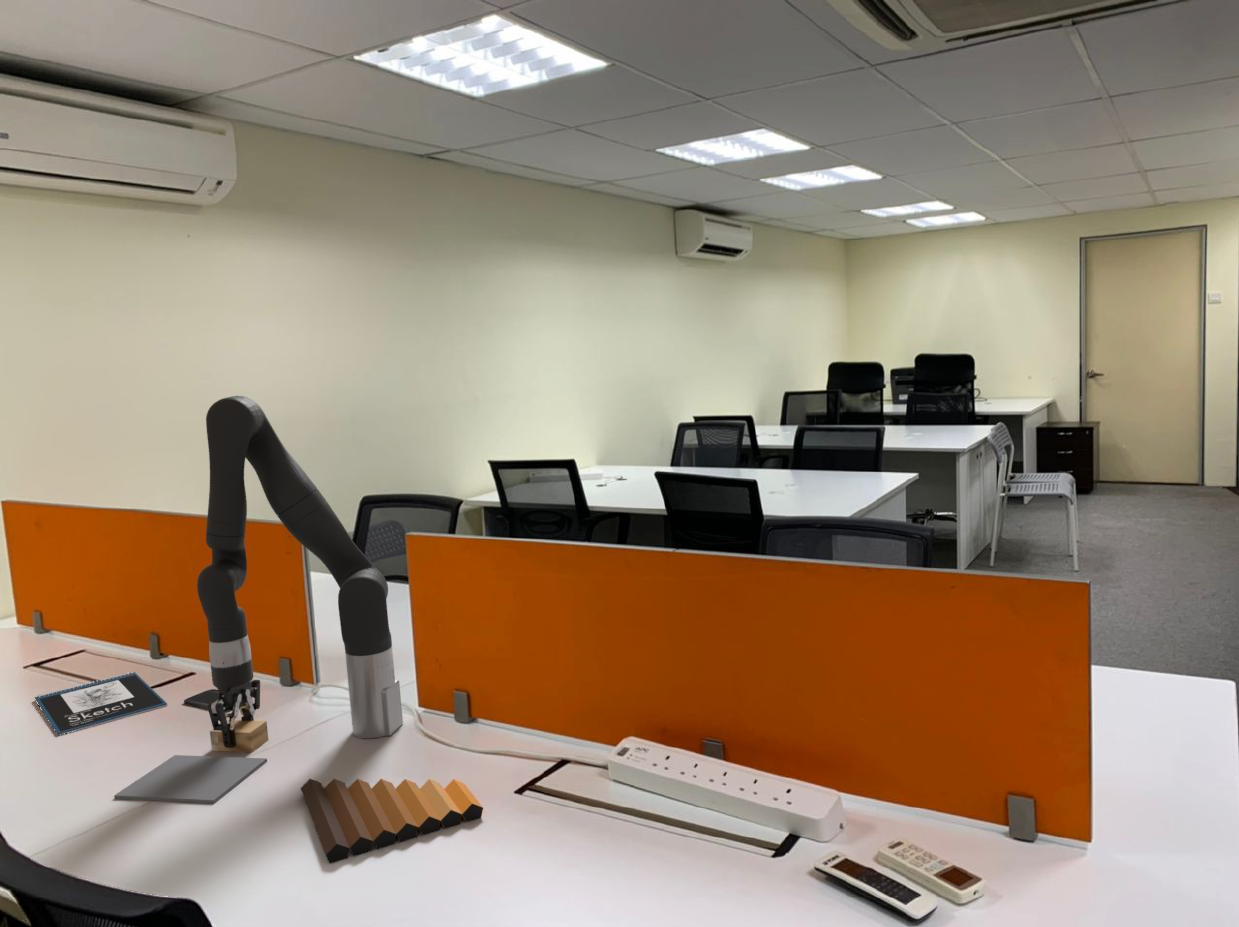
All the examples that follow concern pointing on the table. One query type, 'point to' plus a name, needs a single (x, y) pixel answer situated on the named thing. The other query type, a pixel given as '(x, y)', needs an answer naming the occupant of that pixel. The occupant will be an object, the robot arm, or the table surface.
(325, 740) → the table surface
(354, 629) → the robot arm
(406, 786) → the ridged wooden panel
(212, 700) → the phone
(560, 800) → the table surface
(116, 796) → the mat
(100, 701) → the sketchbook
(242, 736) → the block
